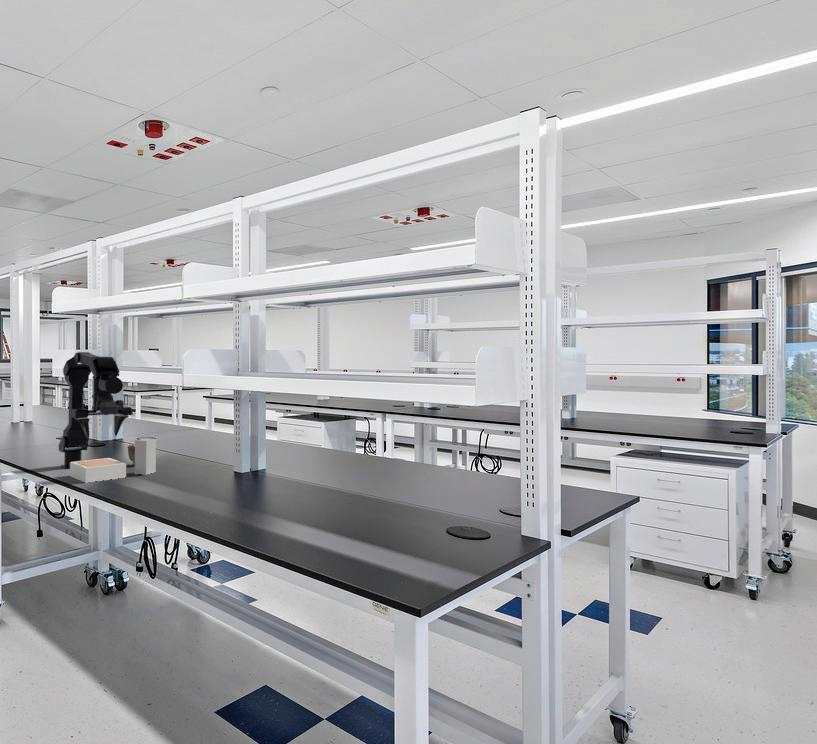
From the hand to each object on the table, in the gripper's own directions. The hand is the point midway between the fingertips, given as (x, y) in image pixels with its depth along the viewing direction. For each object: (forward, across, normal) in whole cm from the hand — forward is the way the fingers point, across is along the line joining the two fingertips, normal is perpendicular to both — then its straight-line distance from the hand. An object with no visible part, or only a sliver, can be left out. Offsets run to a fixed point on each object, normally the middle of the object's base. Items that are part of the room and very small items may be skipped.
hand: (102, 436), depth 201 cm
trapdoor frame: (+15, 0, +3) cm, 15 cm away
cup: (+15, +19, +15) cm, 29 cm away
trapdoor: (+15, 0, +3) cm, 15 cm away
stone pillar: (+15, +14, -2) cm, 21 cm away
